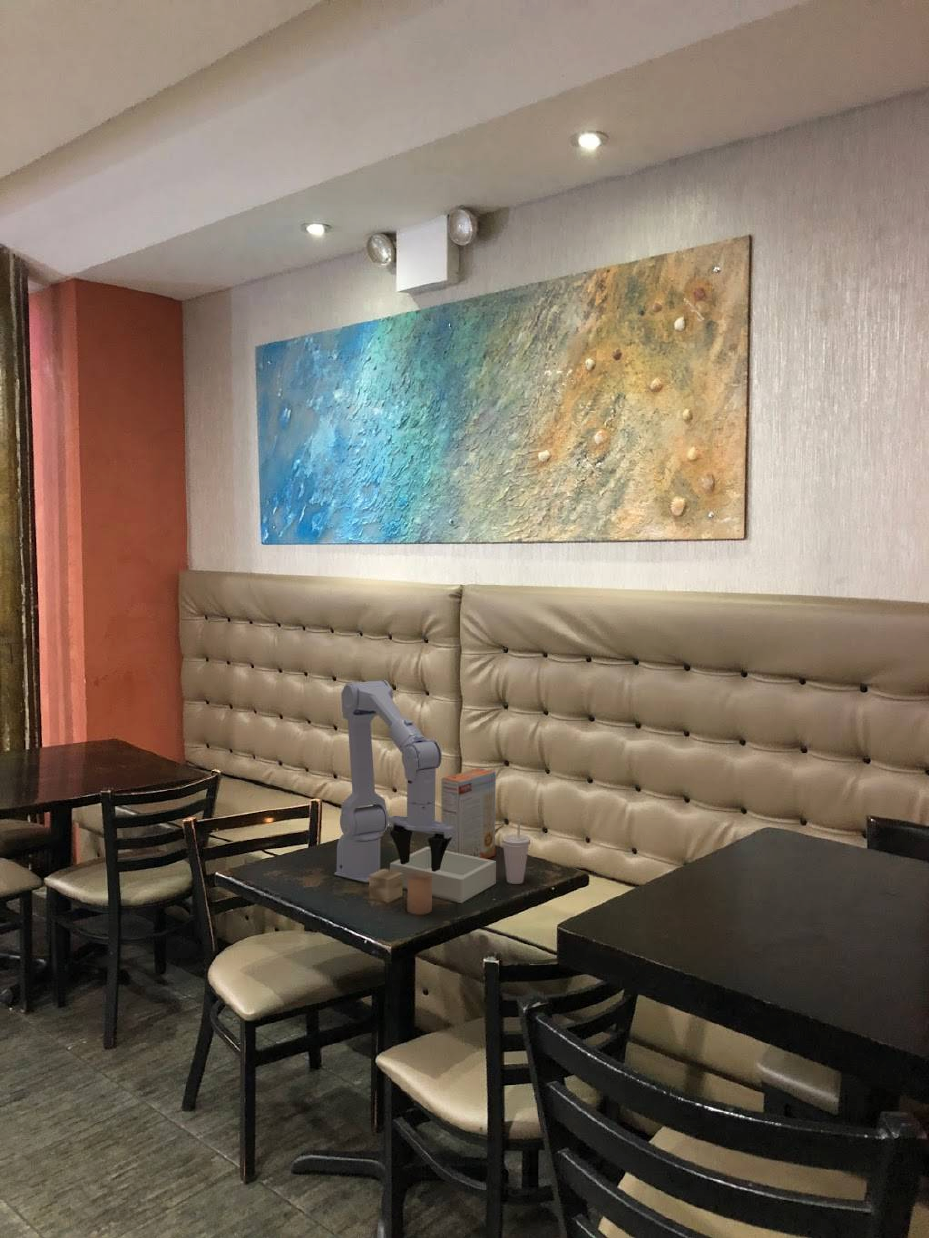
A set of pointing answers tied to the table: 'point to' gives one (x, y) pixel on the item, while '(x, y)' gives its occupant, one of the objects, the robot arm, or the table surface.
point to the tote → (450, 874)
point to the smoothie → (515, 855)
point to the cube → (385, 885)
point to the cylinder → (419, 893)
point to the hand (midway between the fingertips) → (420, 866)
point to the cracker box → (470, 812)
